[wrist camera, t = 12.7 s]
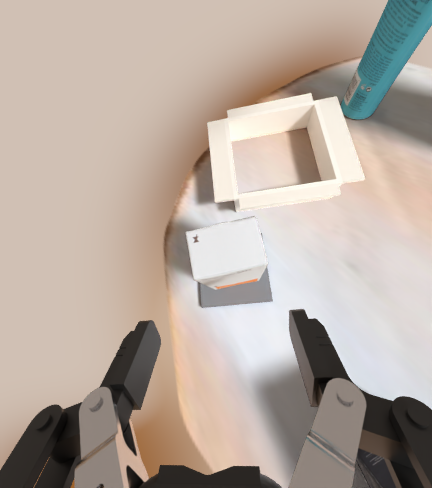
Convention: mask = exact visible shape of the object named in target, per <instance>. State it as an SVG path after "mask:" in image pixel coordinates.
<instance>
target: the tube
mask: <svg viewBox="0 0 432 488" xmlns="http://www.w3.org/2000/svg"><path fill="white" fill-rule="evenodd" d="M431 26H432V0H388V2H387V5H386V7H385V9H384V11H383V13H382V16H381V18H380V20H379V22H378V25H377V27H376V29H375V31H374V33H373V35H372V38H371V40H370V42H369V44H368V46H367V49H366V51H365V53H364V55H363V57H362V60H361V62H360V64H359V66H358V68H357V70H356V73H355V75H354V77H353V79H352V81H351V83H350V86H349V88H348V90H347V92H346V94H345V96H344V99H343V101H342V103H341V109H342V112H343V114H344V115H345V116H347V117H348V118H351V119H365V118H367V117H369V116H371V115H372V114H373V113H374V111H375V110H376V108H377V107H378V105H379V104H380V102H381V101H382V99H383V98H384V96H385V94H386V93H387V91H388V90H389V88H390V87H391V85H392V84H393V82H394V81H395V79H396V78H397V76H398V75H399V73H400V72H401V70H402V69H403V67H404V66H405V64H406V63H407V61H408V59H409V58H410V57H411V55H412V53H413V52H414V51H415V49H416V48H417V46H418V45H419V43H420V42H421V40H422V39H423V37H424V36H425V34H426V33H427V31H428V30H429V28H430V27H431Z"/></svg>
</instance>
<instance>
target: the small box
mask: <svg viewBox="0 0 432 488" xmlns="http://www.w3.org/2000/svg"><path fill="white" fill-rule="evenodd" d="M356 461H357V463H358V465H359V467H360V469H361V471H362V473H363V475H364V477H365V478H366V480H367V482H368V484H369V486H370V488H396V486H395V483H394V481H393V479H392V476H391V474H390V472H389V469H388V467H387V465H386V462H385V460H384V458H383V457H380V456H378V455H375V454H372V453H370V452H367V451H365V450H362V449H359V448H358V452H357V457H356Z"/></svg>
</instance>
